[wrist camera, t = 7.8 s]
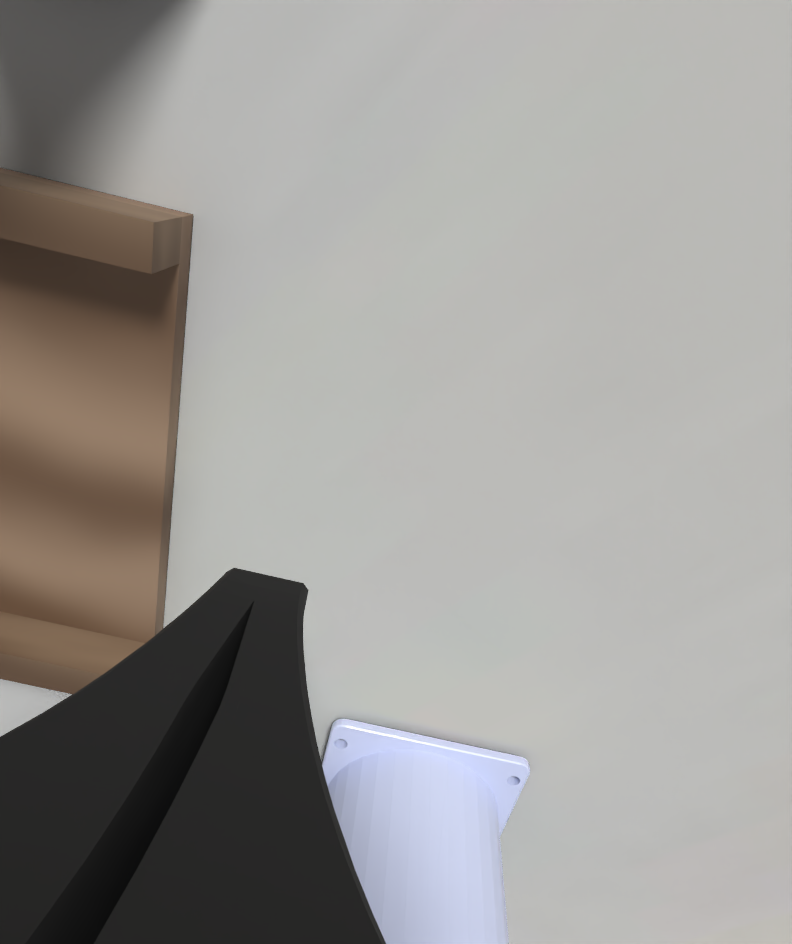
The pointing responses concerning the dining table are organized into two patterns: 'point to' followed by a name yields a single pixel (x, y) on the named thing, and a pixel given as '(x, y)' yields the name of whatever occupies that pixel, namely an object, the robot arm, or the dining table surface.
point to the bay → (85, 424)
